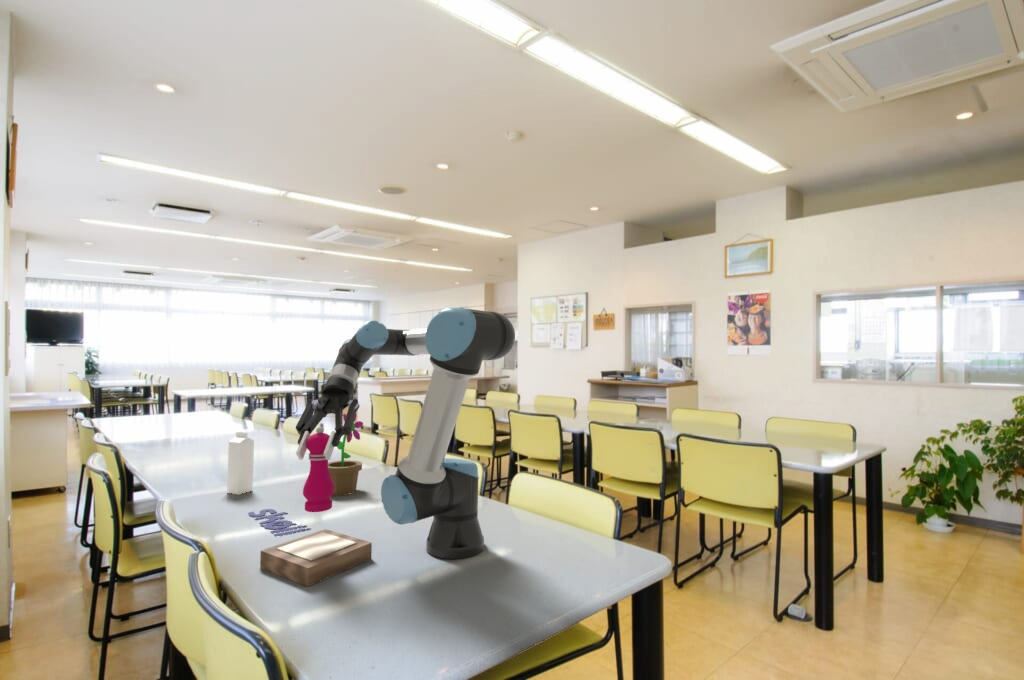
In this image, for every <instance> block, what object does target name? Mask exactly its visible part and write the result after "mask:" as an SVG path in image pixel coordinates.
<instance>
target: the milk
mask: <svg viewBox="0 0 1024 680" xmlns="http://www.w3.org/2000/svg"><path fill="white" fill-rule="evenodd" d="M254 445H255V440H254V439H251V438H250V437H249V436H248V433H247V432H241V431H240V432H239V431H236V433H235V436H234V437H233V438H231V439H230V440H229V441H228V453H227V454H228V455H227V456H228V457H227V487H226V488H227V491H226V492H227V494H231V493H232V494H231V495H236V494H237V496H240V495H243V494H246V492H247V493H251V492H253V488H254V487H253V485H254V451H255V449H254V448H255V446H254ZM250 491H251V492H250ZM242 493H243V494H242Z"/></svg>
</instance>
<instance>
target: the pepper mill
mask: <svg viewBox="0 0 1024 680" xmlns="http://www.w3.org/2000/svg"><path fill="white" fill-rule="evenodd" d="M315 429H316V430H315V432H316V433H313V434H310V437H309V438H308V440H307V451H309V453H308V460H309V461H310V462H309V463H310V467H309V474H308V476H307V478H306V480H305V483H304V485H303V488H302V495H303V497H304V498H305V499H306V501H305V502H304V511H305V512H308V513H321V512H325V511H329V510H331V509H332V507H333V499H331V497H332V496H334V495H333V493H334V483H333V481H332V478H331V476H330V474H329V470H328V463H329V460H326V458H325V456H324V454H323V453H324V451H325V448H326V445H327V442H328V440H329V437H330V435H329V434H328V433H325V432H324V431H325V429H324V427H322V426H317V427H316V428H315Z"/></svg>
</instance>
